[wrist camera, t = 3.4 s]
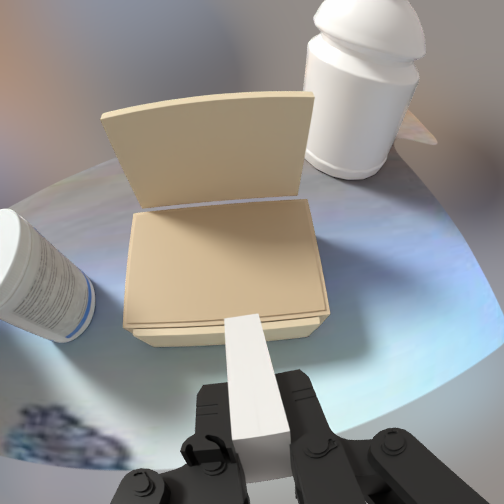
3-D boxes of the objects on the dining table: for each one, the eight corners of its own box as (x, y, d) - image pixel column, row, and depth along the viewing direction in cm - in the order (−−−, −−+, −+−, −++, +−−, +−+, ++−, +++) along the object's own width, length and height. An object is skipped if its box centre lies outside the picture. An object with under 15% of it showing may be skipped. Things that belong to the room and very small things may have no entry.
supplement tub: (92, 260, 34) (27, 189, 20) (105, 332, 30) (22, 282, 16) (36, 285, 32) (-36, 229, 19) (43, 353, 28) (-44, 317, 15)
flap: (142, 208, 29) (100, 119, 19) (143, 200, 30) (103, 111, 19) (297, 195, 30) (314, 97, 19) (295, 188, 30) (311, 90, 20)
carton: (145, 347, 29) (121, 335, 23) (149, 241, 35) (133, 212, 29) (317, 335, 29) (332, 321, 24) (299, 229, 35) (307, 198, 30)
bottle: (399, 174, 40) (471, 9, 15) (319, 191, 38) (368, -26, 13) (355, 116, 46) (390, -29, 21) (282, 125, 44) (294, -46, 19)
